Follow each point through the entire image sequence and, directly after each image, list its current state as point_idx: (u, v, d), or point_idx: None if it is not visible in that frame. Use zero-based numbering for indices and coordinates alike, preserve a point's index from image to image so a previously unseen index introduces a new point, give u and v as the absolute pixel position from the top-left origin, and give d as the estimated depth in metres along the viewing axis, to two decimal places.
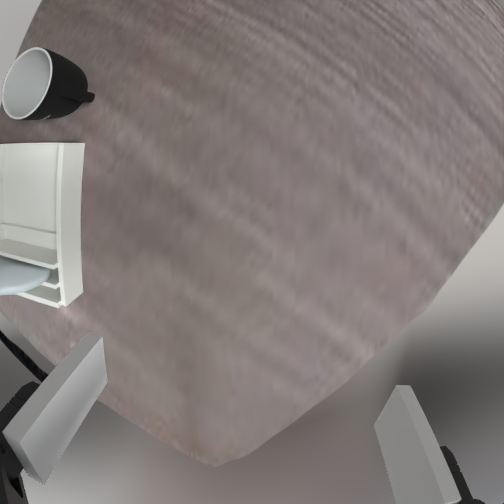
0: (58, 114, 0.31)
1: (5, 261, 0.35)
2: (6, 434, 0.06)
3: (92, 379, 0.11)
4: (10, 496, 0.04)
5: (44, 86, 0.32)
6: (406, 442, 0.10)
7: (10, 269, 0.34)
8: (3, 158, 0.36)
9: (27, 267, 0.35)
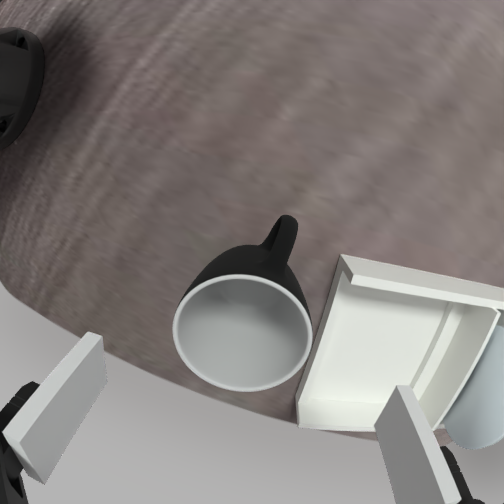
0: None
1: (462, 397, 0.25)
2: (6, 434, 0.06)
3: (92, 379, 0.11)
4: (10, 496, 0.04)
5: (233, 323, 0.28)
6: (406, 442, 0.10)
7: (485, 385, 0.22)
8: (318, 400, 0.31)
9: (485, 359, 0.23)
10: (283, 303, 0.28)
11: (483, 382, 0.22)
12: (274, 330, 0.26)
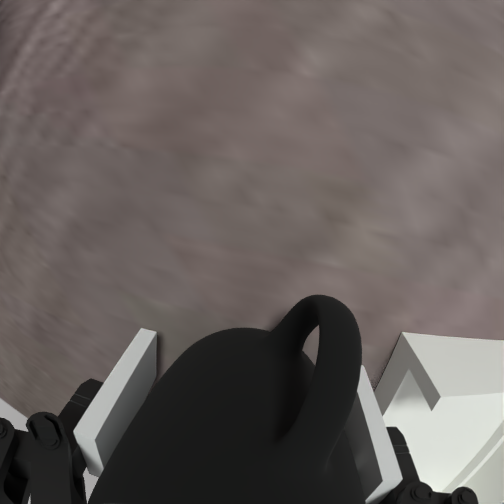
0: None
1: None
2: (78, 433, 0.07)
3: (147, 374, 0.12)
4: (74, 501, 0.05)
5: None
6: (354, 419, 0.11)
7: None
8: None
9: None
10: None
11: None
12: None
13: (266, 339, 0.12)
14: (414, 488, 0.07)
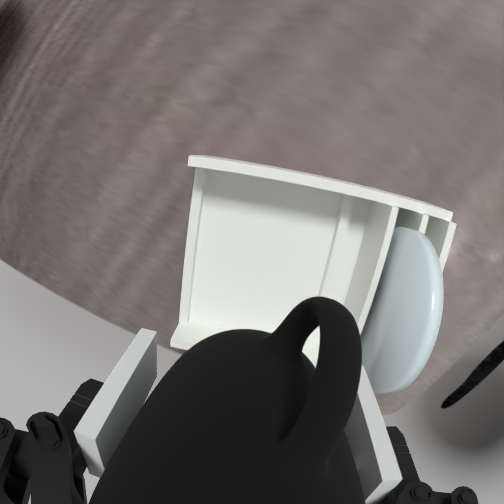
0: None
1: (371, 326, 0.25)
2: (79, 433, 0.07)
3: (147, 374, 0.12)
4: (74, 501, 0.05)
5: None
6: (354, 419, 0.11)
7: (390, 303, 0.22)
8: (202, 324, 0.31)
9: (390, 271, 0.23)
10: None
11: (389, 300, 0.22)
12: None
13: (266, 340, 0.12)
14: (414, 488, 0.07)
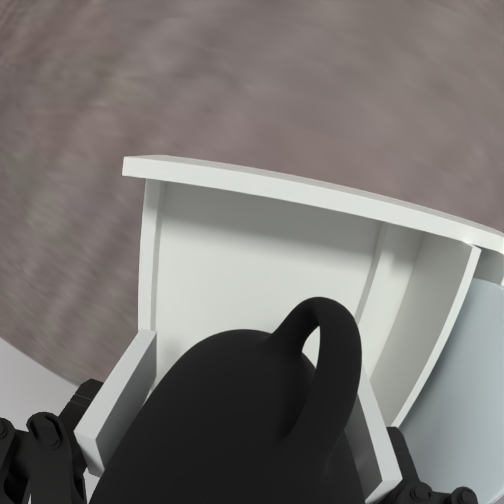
0: None
1: (415, 419, 0.14)
2: (79, 433, 0.07)
3: (147, 374, 0.12)
4: (74, 501, 0.05)
5: None
6: (354, 419, 0.11)
7: (455, 400, 0.11)
8: None
9: (456, 347, 0.13)
10: None
11: (452, 394, 0.12)
12: None
13: (266, 340, 0.12)
14: (414, 488, 0.07)
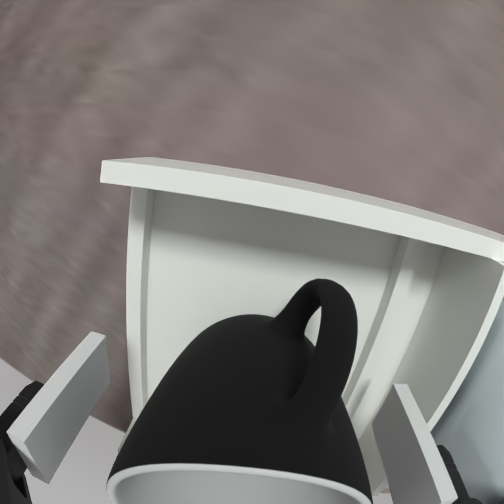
0: None
1: None
2: (10, 434, 0.06)
3: (96, 378, 0.11)
4: (14, 496, 0.04)
5: None
6: (403, 440, 0.10)
7: (476, 433, 0.09)
8: None
9: (480, 376, 0.10)
10: None
11: (473, 427, 0.09)
12: None
13: (272, 322, 0.13)
14: None
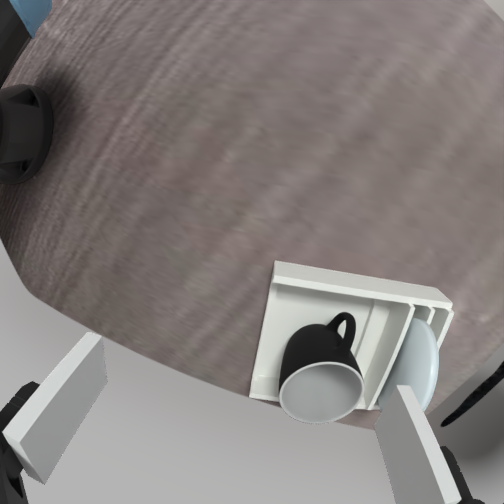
0: None
1: (391, 380, 0.34)
2: (6, 434, 0.06)
3: (92, 379, 0.11)
4: (10, 496, 0.04)
5: (302, 375, 0.38)
6: (406, 442, 0.10)
7: (405, 369, 0.31)
8: (269, 378, 0.41)
9: (406, 347, 0.32)
10: None
11: (404, 367, 0.31)
12: (332, 379, 0.36)
13: (326, 326, 0.35)
14: None
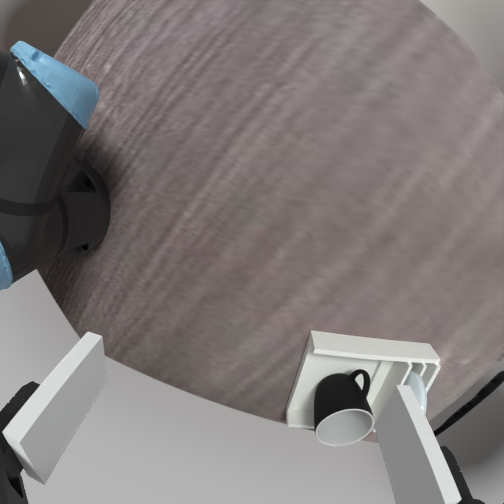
0: None
1: None
2: (6, 434, 0.06)
3: (92, 379, 0.11)
4: (10, 496, 0.04)
5: None
6: (406, 442, 0.10)
7: None
8: (300, 410, 0.51)
9: None
10: None
11: None
12: (349, 412, 0.46)
13: (347, 377, 0.45)
14: None
